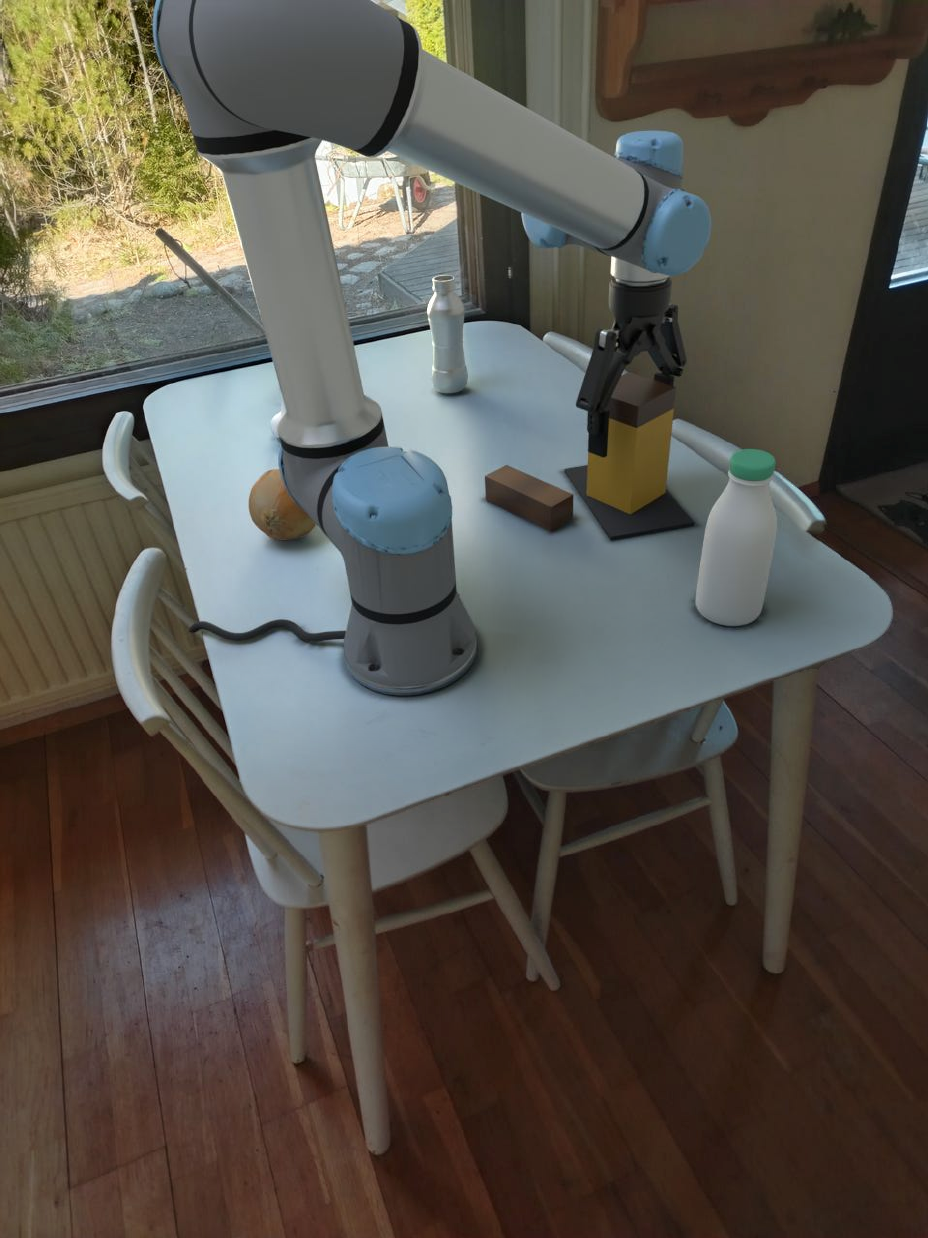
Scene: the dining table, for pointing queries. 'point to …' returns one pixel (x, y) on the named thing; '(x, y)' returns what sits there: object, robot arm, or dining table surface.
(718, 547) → the milk bottle
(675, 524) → the mat
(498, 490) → the walnut block
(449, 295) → the plastic bottle
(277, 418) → the garlic bulb
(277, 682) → the dining table surface
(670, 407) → the tea tin
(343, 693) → the dining table surface
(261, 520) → the onion
